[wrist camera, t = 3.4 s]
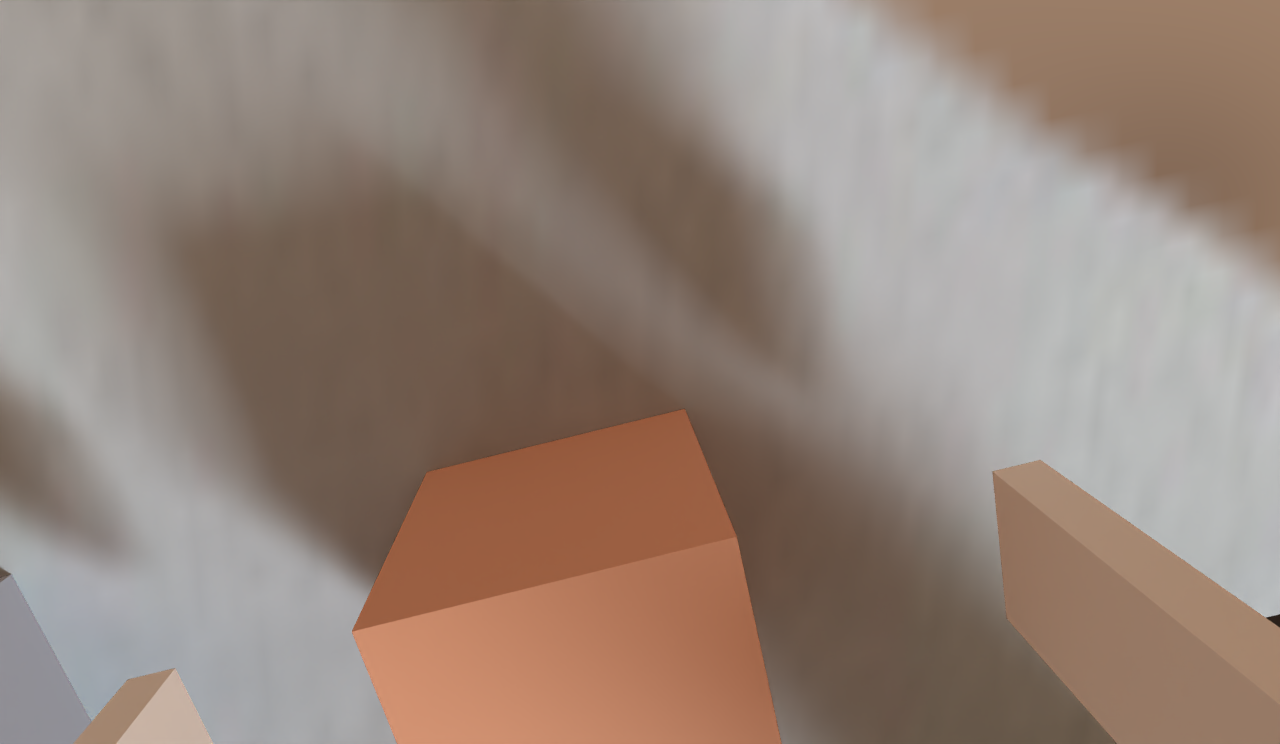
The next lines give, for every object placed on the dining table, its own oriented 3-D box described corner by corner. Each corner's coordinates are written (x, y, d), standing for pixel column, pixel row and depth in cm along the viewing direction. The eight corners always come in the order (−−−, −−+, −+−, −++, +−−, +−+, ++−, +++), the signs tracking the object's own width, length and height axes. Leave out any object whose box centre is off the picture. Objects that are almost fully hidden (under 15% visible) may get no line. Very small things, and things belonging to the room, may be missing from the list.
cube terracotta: (501, 683, 16) (467, 917, 11) (427, 470, 14) (351, 632, 10) (733, 626, 16) (801, 833, 11) (684, 407, 14) (736, 537, 10)
